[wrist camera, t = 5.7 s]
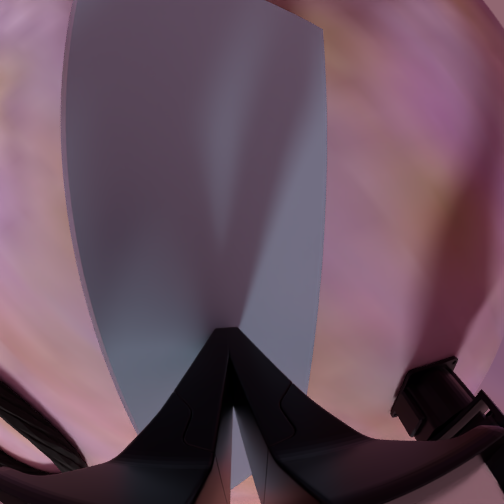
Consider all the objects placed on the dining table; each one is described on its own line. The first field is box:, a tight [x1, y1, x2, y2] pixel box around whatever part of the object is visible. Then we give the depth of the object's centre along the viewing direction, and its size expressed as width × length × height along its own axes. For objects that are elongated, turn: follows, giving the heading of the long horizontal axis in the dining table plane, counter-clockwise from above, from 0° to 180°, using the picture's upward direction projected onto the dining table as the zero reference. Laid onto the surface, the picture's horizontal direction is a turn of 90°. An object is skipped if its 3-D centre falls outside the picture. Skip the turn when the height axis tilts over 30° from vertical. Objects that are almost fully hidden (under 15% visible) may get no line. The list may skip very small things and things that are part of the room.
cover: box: [61, 0, 327, 489], centre depth 10 cm, size 9×22×1 cm
